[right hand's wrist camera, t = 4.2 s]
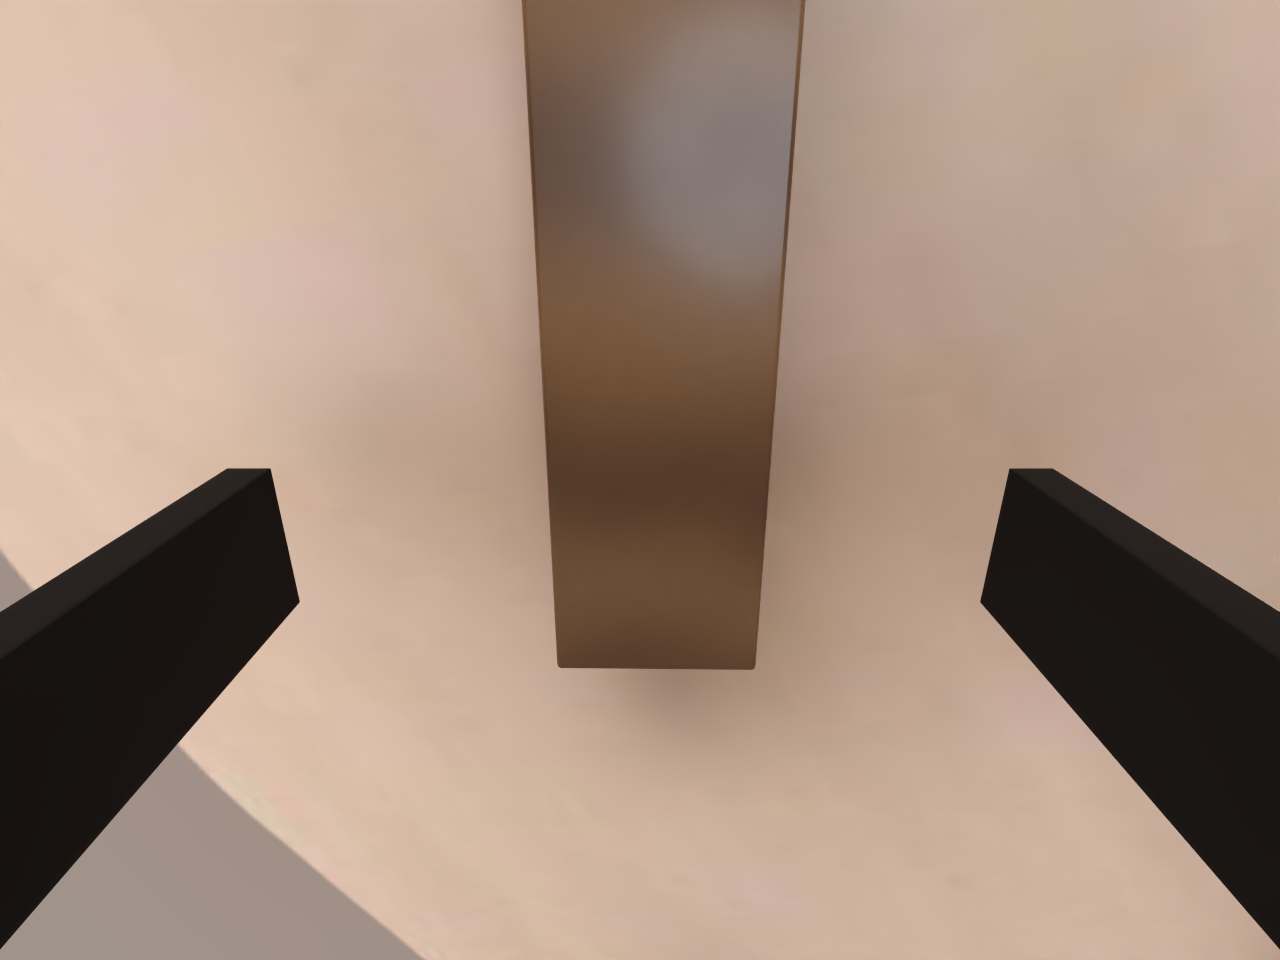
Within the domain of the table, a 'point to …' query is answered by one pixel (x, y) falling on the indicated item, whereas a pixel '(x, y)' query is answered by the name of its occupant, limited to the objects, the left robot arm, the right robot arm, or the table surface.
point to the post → (660, 314)
